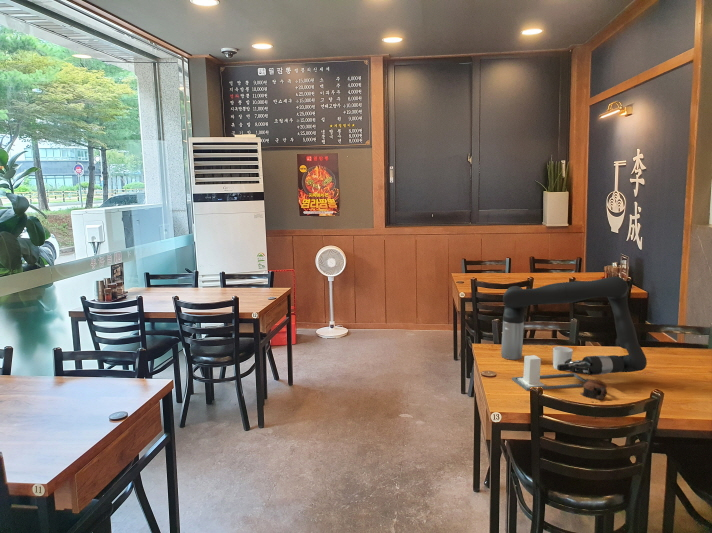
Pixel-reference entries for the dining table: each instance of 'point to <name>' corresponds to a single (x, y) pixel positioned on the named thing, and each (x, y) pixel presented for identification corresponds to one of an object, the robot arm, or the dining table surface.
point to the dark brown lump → (592, 386)
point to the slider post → (531, 372)
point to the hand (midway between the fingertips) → (558, 367)
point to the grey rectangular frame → (552, 377)
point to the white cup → (561, 355)
